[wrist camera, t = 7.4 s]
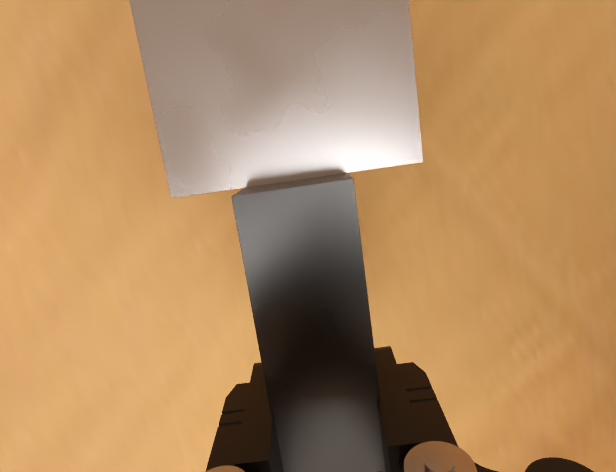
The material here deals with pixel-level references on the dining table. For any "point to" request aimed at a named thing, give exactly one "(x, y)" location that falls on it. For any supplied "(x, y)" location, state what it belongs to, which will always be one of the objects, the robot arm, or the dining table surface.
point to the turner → (292, 184)
